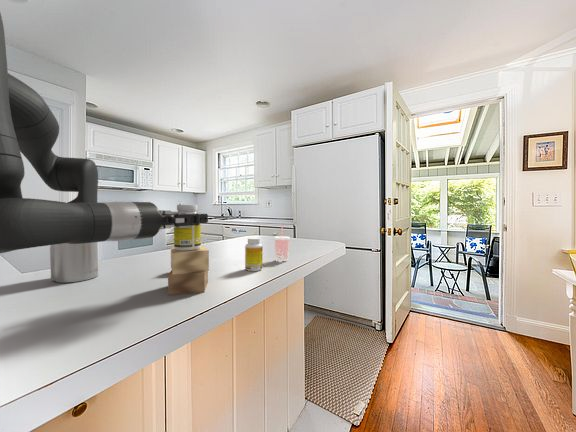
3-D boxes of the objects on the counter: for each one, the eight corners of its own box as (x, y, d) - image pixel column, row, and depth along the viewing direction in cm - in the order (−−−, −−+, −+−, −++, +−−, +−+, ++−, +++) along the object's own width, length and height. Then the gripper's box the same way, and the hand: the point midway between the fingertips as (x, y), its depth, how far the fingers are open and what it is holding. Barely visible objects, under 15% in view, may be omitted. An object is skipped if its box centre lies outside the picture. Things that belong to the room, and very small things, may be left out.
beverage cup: (285, 263, 89) (285, 224, 89) (270, 261, 92) (271, 223, 91) (292, 260, 95) (292, 223, 94) (278, 258, 98) (278, 222, 97)
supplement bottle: (264, 271, 79) (264, 238, 78) (246, 272, 77) (246, 239, 76) (260, 266, 84) (260, 236, 83) (243, 268, 82) (243, 237, 82)
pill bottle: (193, 246, 66) (193, 204, 66) (205, 249, 62) (205, 204, 61) (169, 249, 61) (169, 204, 61) (180, 252, 57) (180, 204, 57)
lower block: (168, 295, 57) (168, 274, 57) (176, 284, 65) (175, 265, 65) (204, 293, 59) (204, 272, 59) (207, 282, 67) (207, 264, 67)
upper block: (172, 274, 57) (172, 252, 57) (170, 266, 64) (170, 247, 64) (208, 270, 60) (208, 250, 60) (203, 263, 68) (203, 245, 67)
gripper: (149, 201, 45) (215, 202, 59) (108, 201, 52) (176, 202, 66) (150, 242, 46) (215, 234, 60) (109, 237, 52) (176, 230, 67)
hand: (194, 217), depth 63 cm, fingers open, 8 cm apart
